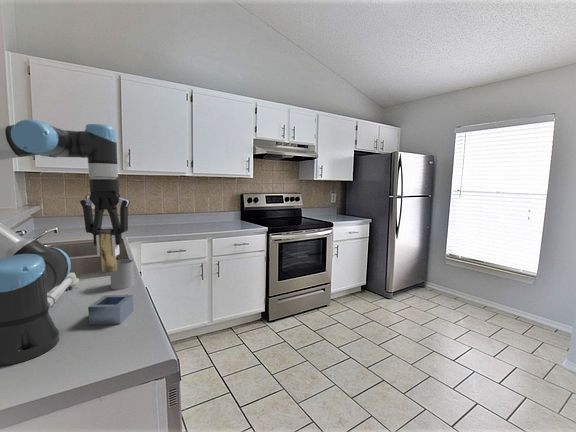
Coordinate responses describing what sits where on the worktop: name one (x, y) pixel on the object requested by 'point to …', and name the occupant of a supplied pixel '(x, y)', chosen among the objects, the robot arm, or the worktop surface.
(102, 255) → the olive tall cylinder
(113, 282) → the cup
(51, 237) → the worktop surface
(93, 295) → the worktop surface
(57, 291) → the white knobby-ended rod
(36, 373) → the worktop surface
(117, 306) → the open blue-gray rectangular box
